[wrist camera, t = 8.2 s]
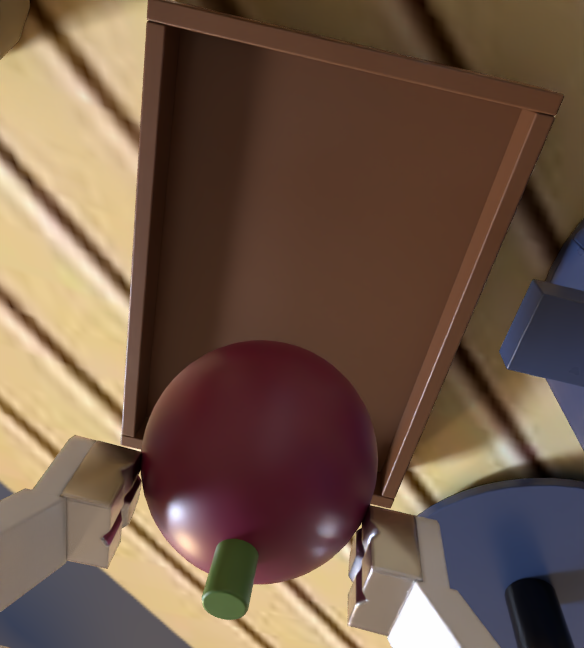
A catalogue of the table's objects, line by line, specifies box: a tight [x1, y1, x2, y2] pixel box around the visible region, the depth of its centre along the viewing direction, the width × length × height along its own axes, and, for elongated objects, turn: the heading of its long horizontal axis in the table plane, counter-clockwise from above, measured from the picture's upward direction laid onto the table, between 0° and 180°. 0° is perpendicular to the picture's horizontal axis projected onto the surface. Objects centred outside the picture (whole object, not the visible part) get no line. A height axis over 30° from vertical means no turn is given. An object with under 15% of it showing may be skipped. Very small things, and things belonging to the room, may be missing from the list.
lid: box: [418, 478, 584, 648], centre depth 25 cm, size 14×14×5 cm
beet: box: [141, 340, 378, 620], centre depth 12 cm, size 5×5×6 cm
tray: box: [121, 0, 564, 508], centre depth 20 cm, size 17×12×2 cm
